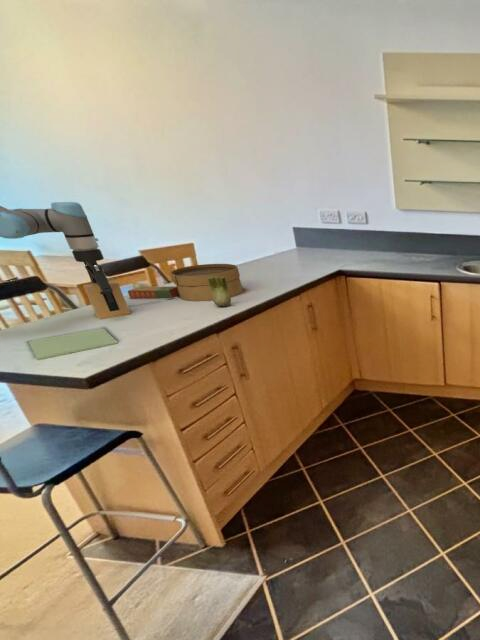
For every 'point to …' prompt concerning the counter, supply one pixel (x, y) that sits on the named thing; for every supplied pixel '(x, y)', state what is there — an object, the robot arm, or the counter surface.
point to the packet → (100, 303)
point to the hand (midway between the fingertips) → (110, 307)
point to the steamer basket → (205, 280)
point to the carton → (153, 292)
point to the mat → (71, 343)
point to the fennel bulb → (220, 292)
